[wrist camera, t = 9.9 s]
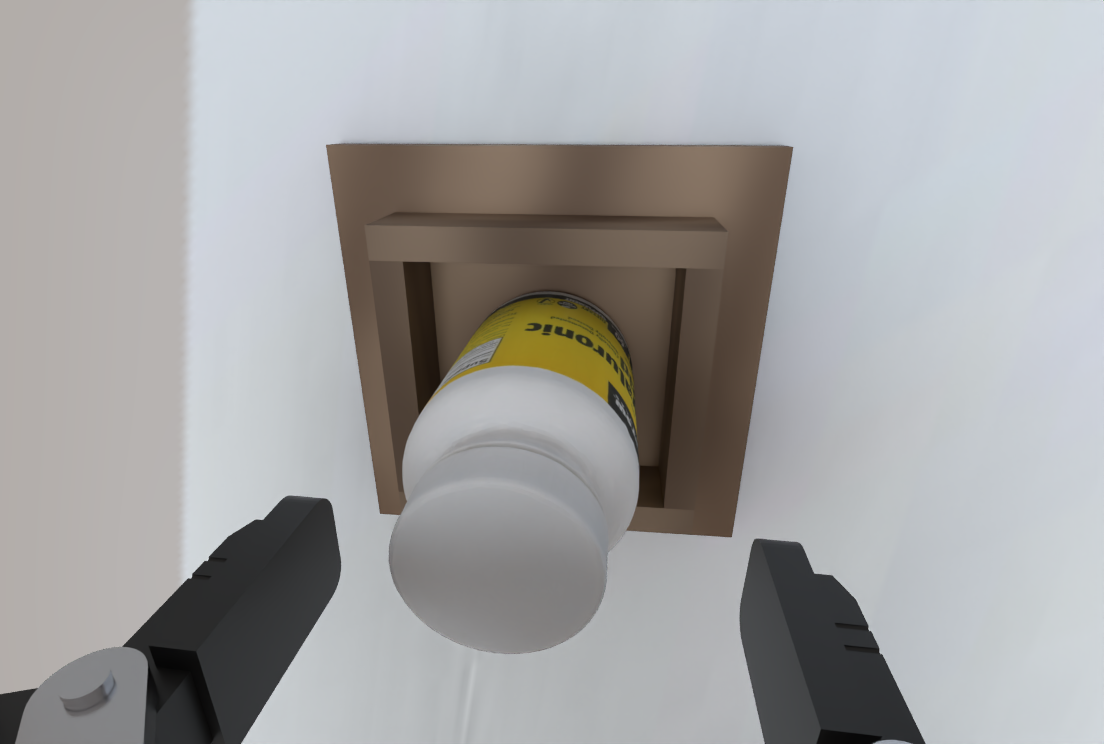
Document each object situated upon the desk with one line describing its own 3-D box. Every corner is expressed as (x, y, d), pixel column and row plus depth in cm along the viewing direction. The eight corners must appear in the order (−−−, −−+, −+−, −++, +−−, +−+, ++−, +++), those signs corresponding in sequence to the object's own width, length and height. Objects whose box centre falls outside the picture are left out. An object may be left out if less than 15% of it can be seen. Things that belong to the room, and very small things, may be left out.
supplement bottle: (667, 374, 20) (711, 603, 10) (546, 462, 22) (493, 722, 12) (556, 249, 18) (493, 385, 9) (438, 355, 20) (287, 557, 11)
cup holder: (783, 145, 17) (821, 151, 14) (727, 520, 23) (744, 585, 20) (340, 143, 19) (283, 148, 16) (388, 498, 24) (354, 556, 21)
